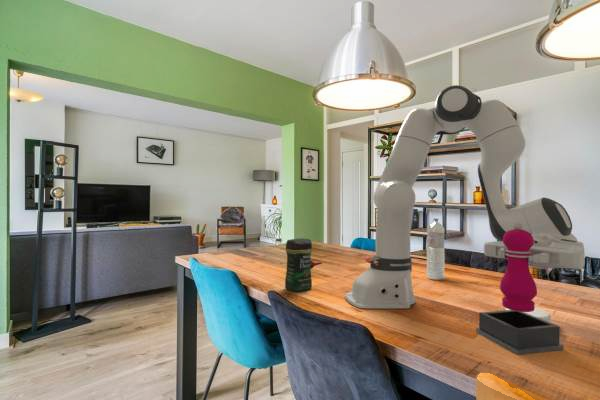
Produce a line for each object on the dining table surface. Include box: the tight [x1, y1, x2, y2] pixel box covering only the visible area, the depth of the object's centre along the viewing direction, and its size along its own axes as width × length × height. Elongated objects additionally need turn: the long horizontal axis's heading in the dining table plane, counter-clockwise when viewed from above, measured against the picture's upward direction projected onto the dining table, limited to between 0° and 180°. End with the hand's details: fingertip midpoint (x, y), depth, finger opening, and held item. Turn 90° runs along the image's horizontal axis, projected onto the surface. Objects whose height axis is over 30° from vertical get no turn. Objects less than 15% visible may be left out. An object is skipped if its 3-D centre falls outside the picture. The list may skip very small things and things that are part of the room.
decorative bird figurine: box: [310, 259, 323, 270], centre depth 141 cm, size 3×18×10 cm, turn 49°
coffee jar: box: [284, 238, 313, 292], centre depth 118 cm, size 10×8×19 cm
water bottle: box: [426, 218, 446, 281], centre depth 134 cm, size 7×7×25 cm
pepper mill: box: [499, 223, 538, 312], centre depth 75 cm, size 7×7×20 cm
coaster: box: [505, 306, 552, 323], centre depth 86 cm, size 10×10×4 cm
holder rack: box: [475, 310, 565, 356], centre depth 75 cm, size 12×12×5 cm
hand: (516, 256), depth 75 cm, fingers closed on pepper mill, 5 cm apart
